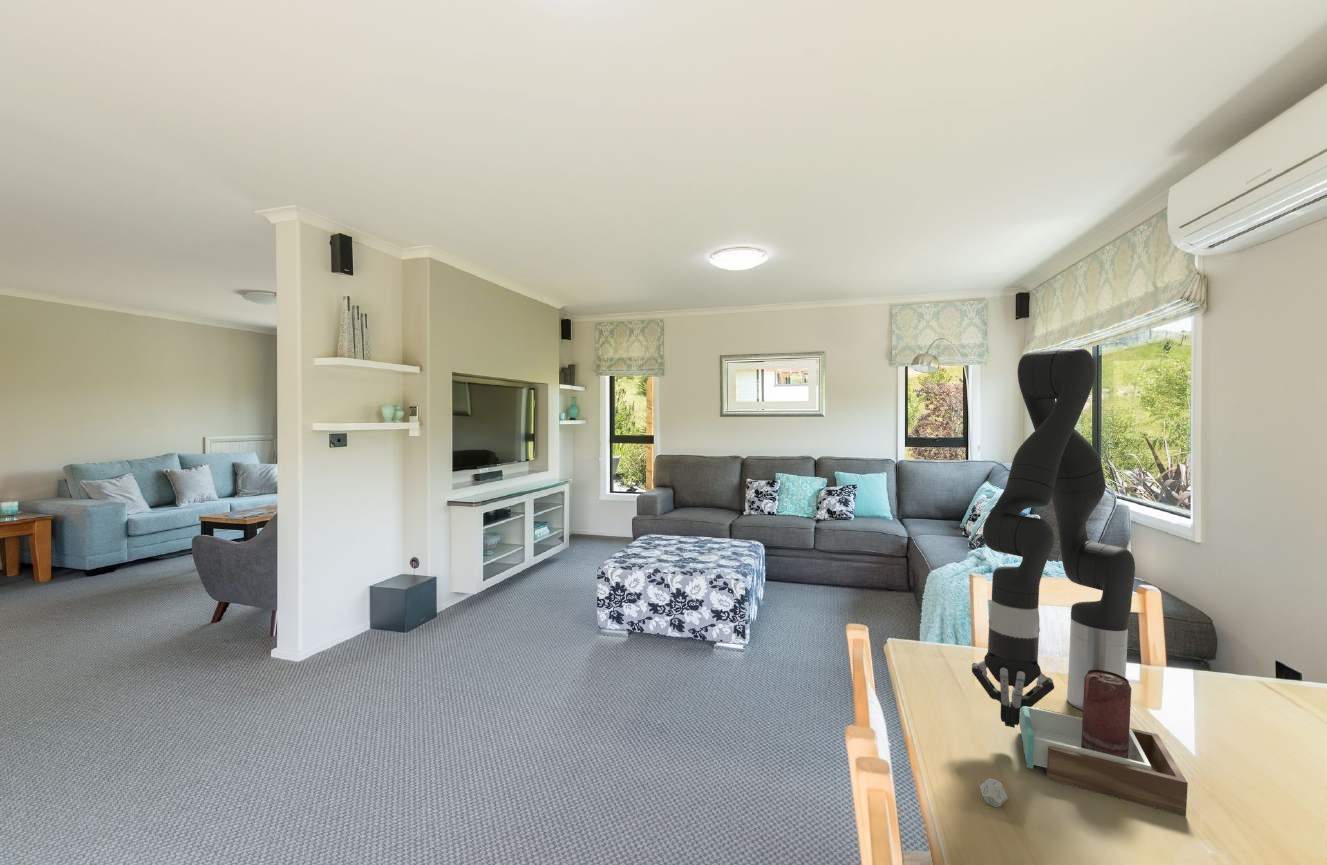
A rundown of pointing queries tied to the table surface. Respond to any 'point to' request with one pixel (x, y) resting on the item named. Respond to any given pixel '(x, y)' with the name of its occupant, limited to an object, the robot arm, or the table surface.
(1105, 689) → the can
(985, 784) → the game die
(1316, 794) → the table surface
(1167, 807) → the tray stand
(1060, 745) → the tray
